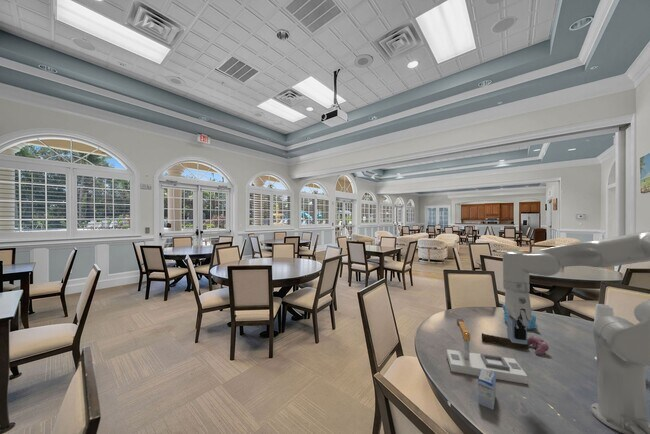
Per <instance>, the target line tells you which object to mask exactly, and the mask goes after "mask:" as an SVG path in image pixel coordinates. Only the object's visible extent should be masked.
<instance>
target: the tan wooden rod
mask: <svg viewBox="0 0 650 434" xmlns="http://www.w3.org/2000/svg"><path fill="white" fill-rule="evenodd" d="M456 325H457V327H458V328H459V331H460V333H461V335H462V339H463V341H464V340H466V341H469V342H470V341H471V333H470V332H469V331H468V329H467V327H466V325H465V320H464V319H463V318H456Z"/></svg>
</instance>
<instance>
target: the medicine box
mask: <svg viewBox="0 0 650 434" xmlns="http://www.w3.org/2000/svg"><path fill="white" fill-rule="evenodd" d="M496 380H497V379H496V374H495V373H494V372H492V371H489V370H486V369H483V368H481V371H480V374H479V376H478V379H477V386H478V387H477V398H478V401H477V402H478V405H481V406H483V407H485V408H488V409H489V410H492V411H494V409H495V402H496V393H497V391H496V390H497V388H496V386H497V384H496V383H497V381H496Z"/></svg>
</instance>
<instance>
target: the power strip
mask: <svg viewBox="0 0 650 434" xmlns="http://www.w3.org/2000/svg"><path fill="white" fill-rule="evenodd" d="M446 357H447V360H448V364H449V368H450V372H454V373H460V374H466V375H471V376H477V377H479V374H480V371H481V368H483V369H486V370H489V371H492V372H494V373H495V374H496V380H502V381H506V382H507V381H508V382H514V383H519V384H526V385H528V384H529V383H528V382H529V381H528V380H529V379H528V375H527V373H526V372H525V371H524V369H523V368H522V366H520V364H519V363H518V361H516V359H515V358H511V357H505V356H500V355H494V354H487V353H475V352H470V341H466V340H464V339H463V351H460V350H454V349H446Z"/></svg>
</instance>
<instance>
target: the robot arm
mask: <svg viewBox="0 0 650 434" xmlns="http://www.w3.org/2000/svg"><path fill="white" fill-rule="evenodd" d="M645 262H650V230H646V231H645V230H644V231H639V232H635V233H629V234H624V235H619V236H615V237H609V238H602V239H596V240H591V241H584V242H579V243H578V242H577V243H571V244H565V245H564V244H563V245H559V246H552V247H547V248H542V249H538V250H533V251H532V252H530V253H527V252H524V251H514V250H513V251H508V250H507V251H504V252H503V253H502V283H503V285H502V288H503V289H504V290H505V291H504V292H505V293H504V304H505V309H506V311H507V313H508V315H509V316H512V317H513V318H514V319H515V326H516V327H514V336H515V339H519V340H526V326H527V325H528V322H527V320H528V321H531V320H532V316H531V308H532V306H531V298H530V274H534V275H539V276H545V277H550V276H554V275H557V274H558V273H559V272H560V271H561V268H567V267H589V268H610V267H618V266H623V265H624V266H625V265H632V264H638V263H639V264H640V263H645ZM633 309H634V310H633V315H634V317H635V319H636V320H637V321H638V323H636V324H634V323H633V322H631V321H629V320H627V319H626V318H623V317H620V316H616V315H614V316H603V317H601V318H599V319H597V320H596V322H595V323H594V322H593V328H592V333H593V338H594V339H593V340H594V343H595V351H596V357H597V360H596V379H597V380H596V383H597V384H596V386H597V389H596V390H597V402H594V403H592V404H591V405H590V411H591V413H592V414H593V416H594V417H595V418H596V419H598V421H600V422H601V423H602V424H604V425H605V426H607V427H609V428H611V429H613V430H614V431H617V432H619V433H621V434H650V422H649V420H648V418H647V417H648V414H647V412H648V411H647V386H646V384H647V383H646V382H647V381H646V376H647V375H646V367H647V366H650V298H649V299H646V300H645V301H642V302H640V303H639V304H637V305H636V306H635V308H633ZM518 317H519V318H521V319H518ZM518 321H521V323H520V322H519V324H518ZM645 366H646V367H645Z"/></svg>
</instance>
